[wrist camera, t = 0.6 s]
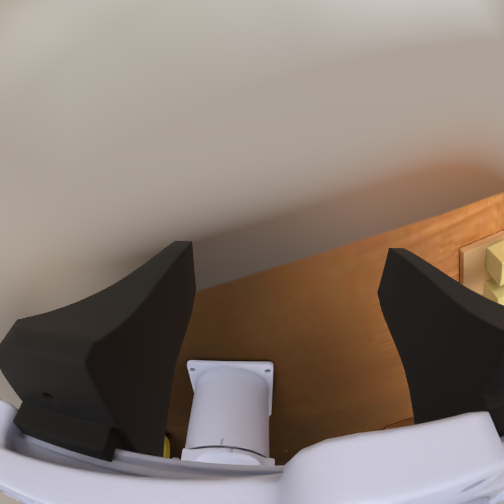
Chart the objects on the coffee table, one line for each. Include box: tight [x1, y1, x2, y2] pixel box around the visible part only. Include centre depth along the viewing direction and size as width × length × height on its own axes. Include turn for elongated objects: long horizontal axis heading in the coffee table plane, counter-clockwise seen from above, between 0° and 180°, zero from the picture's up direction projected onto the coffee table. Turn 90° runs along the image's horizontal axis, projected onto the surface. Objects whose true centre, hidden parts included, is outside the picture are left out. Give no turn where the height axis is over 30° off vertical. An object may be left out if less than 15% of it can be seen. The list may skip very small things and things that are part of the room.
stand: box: [385, 418, 414, 430], centre depth 34 cm, size 2×4×3 cm, turn 112°
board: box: [459, 230, 504, 296], centre depth 22 cm, size 7×10×1 cm
